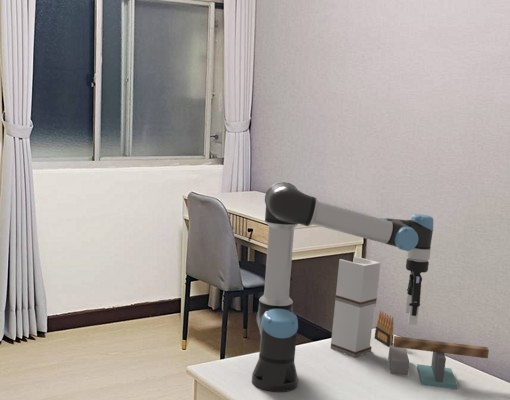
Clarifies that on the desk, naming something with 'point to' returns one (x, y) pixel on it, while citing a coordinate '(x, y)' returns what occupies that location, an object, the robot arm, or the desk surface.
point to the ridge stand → (437, 373)
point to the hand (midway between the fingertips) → (410, 318)
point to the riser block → (398, 361)
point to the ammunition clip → (384, 329)
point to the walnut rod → (441, 347)
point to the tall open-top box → (355, 306)
